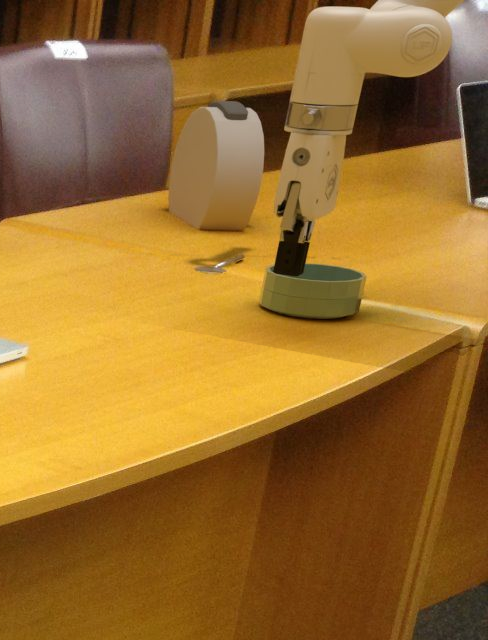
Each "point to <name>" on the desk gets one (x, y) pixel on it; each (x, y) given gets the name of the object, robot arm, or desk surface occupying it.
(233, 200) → the alarm clock
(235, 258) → the spoon
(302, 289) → the bowl
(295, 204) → the robot arm
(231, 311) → the desk surface
